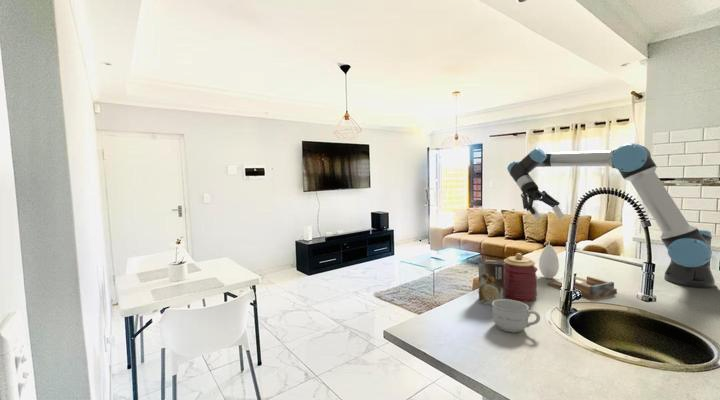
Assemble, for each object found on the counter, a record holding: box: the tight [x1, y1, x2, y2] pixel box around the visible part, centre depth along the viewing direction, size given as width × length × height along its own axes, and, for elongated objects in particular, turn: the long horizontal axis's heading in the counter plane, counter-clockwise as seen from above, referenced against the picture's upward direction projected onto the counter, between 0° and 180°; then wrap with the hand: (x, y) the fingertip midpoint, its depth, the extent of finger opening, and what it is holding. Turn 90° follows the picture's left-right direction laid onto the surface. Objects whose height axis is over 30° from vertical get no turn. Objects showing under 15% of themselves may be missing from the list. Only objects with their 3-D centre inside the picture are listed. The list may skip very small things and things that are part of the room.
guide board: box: [547, 276, 618, 300], centre depth 135 cm, size 16×18×4 cm
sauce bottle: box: [538, 240, 560, 280], centre depth 148 cm, size 8×8×18 cm
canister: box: [503, 252, 538, 303], centre depth 129 cm, size 13×13×18 cm
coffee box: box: [478, 258, 505, 306], centre depth 124 cm, size 9×6×16 cm
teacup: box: [491, 298, 541, 333], centre depth 102 cm, size 14×11×8 cm
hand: (550, 218), depth 155 cm, fingers open, 13 cm apart
